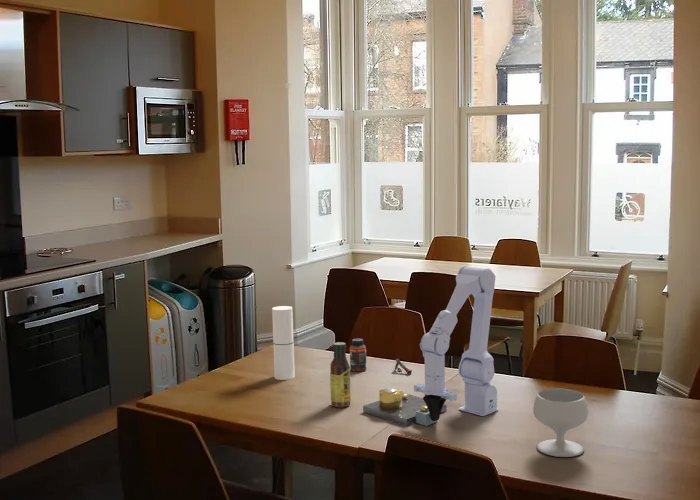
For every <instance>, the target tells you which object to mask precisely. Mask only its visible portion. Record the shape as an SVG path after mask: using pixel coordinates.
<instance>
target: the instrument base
mask: <svg viewBox="0 0 700 500" xmlns="http://www.w3.org/2000/svg"><path fill="white" fill-rule="evenodd" d="M378 398H379V399H378V400H376V401H373V402H371V403H368V404H367V403H366V404H365V405H362V412H363V413H364V414H368V415H370V416H374V417H377V418H381V419H384V420H387V421H389V422H393V423H396V424H399V423H400V424H399V425H403V426H405V425H406V426H407V427H408V426H410V424H411V425H413V424H415V423H416V411H418V410H420V407H421V406H427V405H426V403H425V401H424V400H423V397H420V396H416V395H413V394H410V393H407V392H403V390H402V389H399V388H395V387H386V388H382V389H380V390H378ZM447 408H448V407H447V404H445V403H444V405H443V407H442V410H441V413H440V414H443V413H445V412H447V410H448V409H447ZM442 412H443V413H442ZM416 424H417V423H416Z"/></svg>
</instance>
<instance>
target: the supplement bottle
mask: <svg viewBox="0 0 700 500" xmlns="http://www.w3.org/2000/svg"><path fill="white" fill-rule="evenodd" d="M351 343H352V344H351V345H349V362H350V363H349V367H350V371H352V372H359V373H360V372H364V371H366V370H367V346H366V345H365V344H364V339H363V338H353V339H352V340H351Z"/></svg>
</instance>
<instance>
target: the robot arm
mask: <svg viewBox="0 0 700 500" xmlns="http://www.w3.org/2000/svg"><path fill="white" fill-rule="evenodd" d="M455 282H456V285H455V287H454V291H453V293H452V294H451V298H450V299H449V302H448V304H447V306H446V308H445V309H444V310H441V311H440V312H439V313H438V314H437V317H436V318H435V321H434V323H433V324H432V327H431V328H430V330H429V332H427V333H425V334H423V336H422V337H421V339H420V343H419V347H420V350H421V351H422V357H423V358H424V384H422V383H421V384H420V383H416V384H414V385H413V392H416V393H417V392H419V393H422V394H424V396H423V397H422V398H423V400H424V401H425V403H426V405H427V407H428V410H429V413H430V417H431V420H432V421H437V420H438V421H440V418H441V417H440V416H441V414H442V413H441V410H442V407H443V405H444V404H445V402H446V401H447V400H449V402H455V401H457V400H458V398H457V397H458V396H457V395H458V394H457V393H456V392H453V391H451V390H449V389H447V388H446V377H445V376H446V375H445V374H446V372H445V371H446V369H445V368H446V367H445V366H446V365H445V363H446V362H445V361H446V359H445V354H446V353H447V352H448V350H449V347H450V341H451V334H452V333H453V331H454V329H455V327H456V324H458V317H457V316H458V313H459V312H460V310H461V309H462V307H463V305H464V304H465V302H466V301H467V299H468V298H469V297H470V295H472V296H473V299H474V300H473V301H474V302H473V309H472V319H471V327H470V328H471V329H470V335H469V338H470V339H469V346H468V349H467V350H465V351H464V352H462V354H461V359H460V362H459V364H458V373H459V376H460V377H462V378H461V379H462V381H463V382H464V405H463V406H461V407H458V410H459V411H463V412H466V413H470V414H473V415H477V416H480V417H485V416H487V415H490V414H493V413H495V412H498V411H499V408H498V391H497V387H496V386H495V385H493V384H491V381H492V380H493V378H494V376H495V367H494V358H493V356H492V355H491V353H489V351H488V342H489V333H490V325H491V315H492V305H493V297H494V293H495V284H496V275H495V273H494V271H493V270H492V269H491V268H488V267H486V268H483V267H476V266H474V267H473V266H468V265H463V266H461V267H460V268H459V270H458V273H457V274H456V276H455ZM425 394H426V396H425Z"/></svg>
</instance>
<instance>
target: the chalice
mask: <svg viewBox="0 0 700 500" xmlns="http://www.w3.org/2000/svg"><path fill="white" fill-rule="evenodd" d="M532 411H533V414H534V417H535V419H536V420H537V421H538V422H539V423H541V424H542V425H544V426H546V427H547V428H549V429H552V430H553V432H554V433H555V434H556V439H553V438H552V439H547V440H543V441H540V442H539V443H538V444H537V445H536V449H537V450H538V451H539V452H540V453H542V454H545V455H548V456H553V457H559V458H570V457H571V458H572V457H577V456H580V455H582V454H583V453H584V452H585V449H584V447H583V446H582V445H581V444H579V443H577V442H575V441H571V440H567V439H565V438H564V437H565V435H566V433H567V432H568V431H570V430H572V429H574V428H577V427H579V426H581V425H583V424H584V423H585V422H586V421H587V419H588V417H589V407H588V402H587V400H586V397H585V395H584V394H583V393H582V392H581V391H578V390H574V389H569V388H561V387H559V388H557V387H555V388H554V387H552V388H544V389H543V390H540V391H539V392H538V393H537V394H536V396H535V399H534V402H533V409H532Z"/></svg>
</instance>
